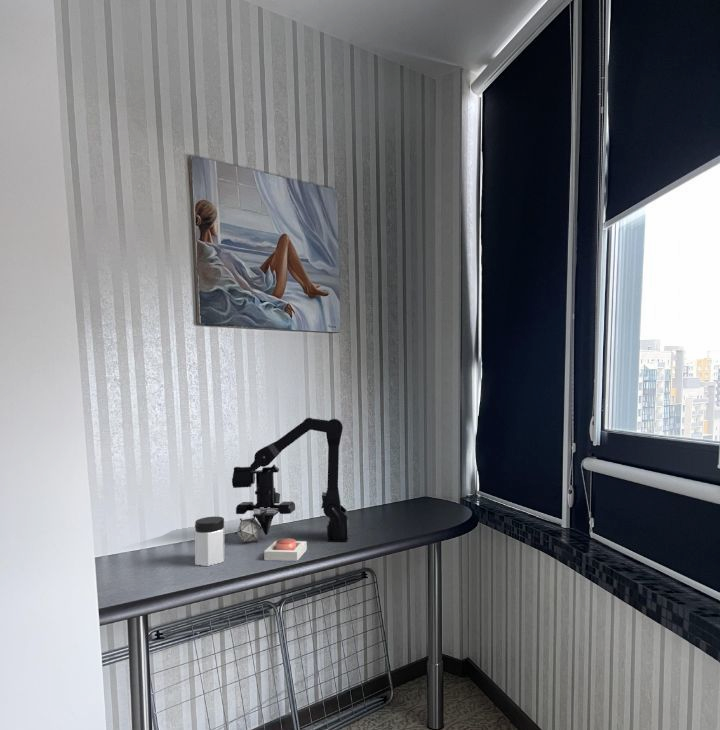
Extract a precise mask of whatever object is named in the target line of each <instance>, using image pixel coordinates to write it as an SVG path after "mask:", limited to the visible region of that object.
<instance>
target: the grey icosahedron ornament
mask: <svg viewBox="0 0 720 730" xmlns="http://www.w3.org/2000/svg"><path fill="white" fill-rule="evenodd" d="M239 521H240V523H239V525H238V529H237V530H236V531H237V532H234V534H235V535H238V537H239V538H240V540H241V541H242V545H243V544H244V545H245V543H248V542H253V541H256V542H259V541H260V540H259V539H258V538H259V535H260V533H261V530H262V527H261V525H260V523H259V522H258V520H257V519H256V517H252V518H245V519H242V518H241V517H240V518H239Z"/></svg>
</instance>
